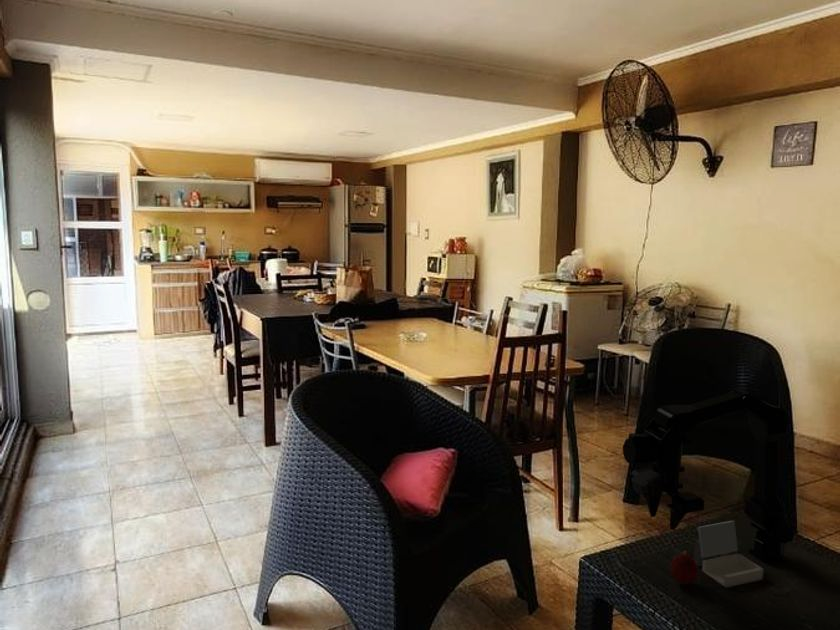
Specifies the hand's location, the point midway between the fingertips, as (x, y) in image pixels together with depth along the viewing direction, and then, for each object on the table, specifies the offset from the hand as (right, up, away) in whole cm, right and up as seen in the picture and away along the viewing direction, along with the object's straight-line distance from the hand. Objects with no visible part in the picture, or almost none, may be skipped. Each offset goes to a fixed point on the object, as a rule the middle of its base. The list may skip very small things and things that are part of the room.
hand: (662, 523), depth 145 cm
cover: (+14, -5, +2) cm, 15 cm away
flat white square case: (+15, -12, 0) cm, 19 cm away
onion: (+2, -12, -6) cm, 14 cm away
